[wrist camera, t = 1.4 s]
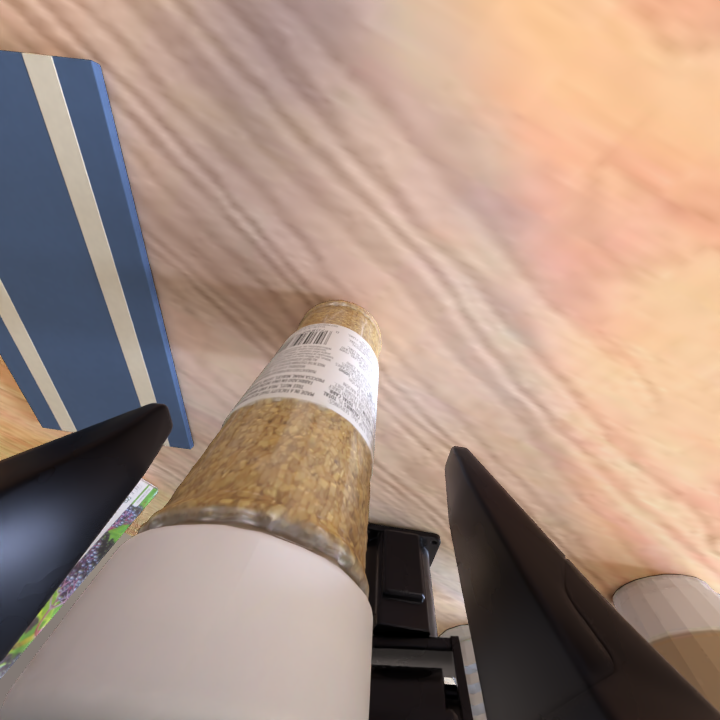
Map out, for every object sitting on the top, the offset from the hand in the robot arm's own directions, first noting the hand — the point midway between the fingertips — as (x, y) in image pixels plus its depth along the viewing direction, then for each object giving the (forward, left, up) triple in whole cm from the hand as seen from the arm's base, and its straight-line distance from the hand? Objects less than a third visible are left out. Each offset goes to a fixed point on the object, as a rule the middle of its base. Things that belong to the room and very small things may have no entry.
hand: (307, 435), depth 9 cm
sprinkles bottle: (0, 0, -8) cm, 8 cm away
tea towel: (0, +16, -7) cm, 17 cm away
